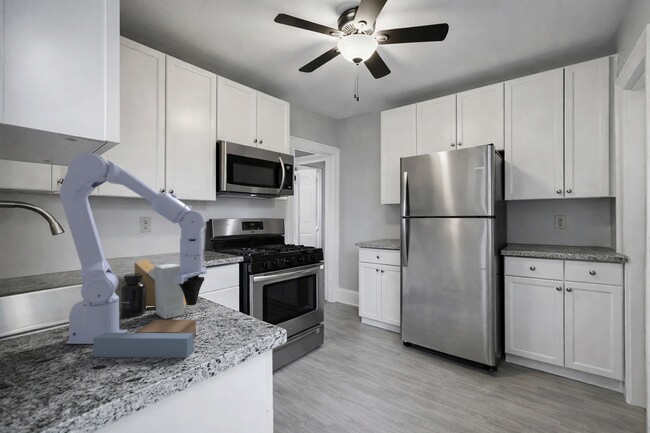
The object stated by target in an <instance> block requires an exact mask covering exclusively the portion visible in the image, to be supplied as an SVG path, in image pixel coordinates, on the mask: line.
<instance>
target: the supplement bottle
mask: <svg viewBox="0 0 650 433" xmlns="http://www.w3.org/2000/svg"><path fill="white" fill-rule="evenodd" d="M142 280H143V274H141V273H135V272H134V273H128V274H127V273H126V274H124V275H123V282H124V283H122V285H121V286H120V288H119V317H121V318H134V317H135V316H136V317H139V315H140V316H142V314H143V315H145V313H146V312H147V308H146V284H145V283H144V282H142ZM136 317H135V318H136Z"/></svg>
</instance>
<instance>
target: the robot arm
mask: <svg viewBox="0 0 650 433" xmlns="http://www.w3.org/2000/svg"><path fill="white" fill-rule="evenodd" d="M106 182H108V183H109V184H113V185H121V186H124V187H125V188H127V189H128V190H130V191H132V192H133V193H135V194H137V195H139V196H140V197H142V198H144V199H145V200H146V201H148V202H150V203H151V208H152V210H153V212H155V213H157V214H159V215H160V216H161V217H163V218H165V219H167V220H168V221H169V222H171V223H173V224H178V225H179V227H180V238H179V265H180V272H179V273H178V274H177V275H176V276H174V284H179V286H180V287H181V289H182V291H183V294H184V297H185V301H186V306H196V305H197V302H198V299H199V298H198V297H199V295H200V290H201V287H202V285H203V283H204V281H205V276H201V275H205V274H207V273H208V272H207V271H208V270H207V266H203V265H204V264H203V260H204V258H203V257H204V255H203V254H204V253H203V250H204V249H203V247H204V243H203V241H204V239H203V230H202V229H203V228H204V226H205V221H204V217H203V215H201V213H199V212H197V211H195V210H192V209H193V206H191V205H186V204H185V203H184V202H182V201H181V200H180V199H178V198H177V195H176V194H174V193H171V194H170V193H169V192H161V193H159V192H158V191H157V190H155V189H154V188H152V187H151V186H149V185H148V184H147V183H146V182H144V181H142V180H141V179H140V178H138V177H136V176H135V175H134V174H132V173H131V172H130V171H128V170H126V169H125V168H124V167H122V166H120V165H119V164H116V163H115V162H113V161H110V160H108V159H107V160H105V158H103V157H102V156H101V155H100V154H97V153H95V152H83V153H81V154H79V155H77V156H76V157H75V158H74V159H72V161H70V162H69V163H68V165H67V171H66V174H65V176H64V178H63V181H62V183H61V186H60V187H59V190H58V191H59V196H60V197H59V198H60V200H61V205H62V207H63V211H64V213H65V216H66V217H65V218H66V220H67V223H68V226H69V230H70V233H71V236H72V240H73V243H74V246H75V250H76V252H77V256H78V259H79V262H80V265H81V269H80V270H81V271H80V272H81V274H80V278H81V280H82V285H81V289H80V295H81V298H82V299H83V300H82V301H78V302H77V303H75V304H74V305H73V306H72V307H71V309H70V312H69V315H68V316H69V317H68V319H69V320H68V322H69V323H68V336H69V338H68V339H69V340H67V341H66V344H70V345H71V344H73V345H74V344H75V345H76V344H77V345H80V344H81V345H83V344H84V345H85V344H86V345H93V338H94V337H96V336H98V335H100V334H102V333H128V331H129V330H128V329H121V328H120V295H117V294H116V292H115V291H116V290H117V288H118V287H119V284H120V282H119V278H118V276H117V274H116V273H114V272H113V271H112V269H111V266H110V264H109V261H108V260H107V259H106V256H105V252H104V249H103V245H102V241H101V239H100V236H99V232H98V228H97V225H96V222H95V219H94V215H93V212H92V209H91V205H90V201H89V196H90V195H91V194H92V193H93V191H95V190H96V189H97V188H98V187H99V186H101V185H103V184H104V183H106Z"/></svg>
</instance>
